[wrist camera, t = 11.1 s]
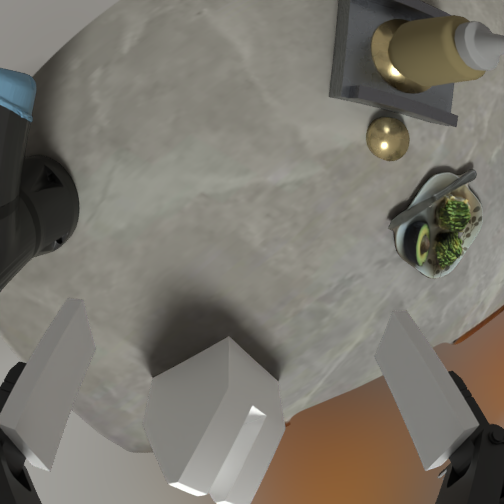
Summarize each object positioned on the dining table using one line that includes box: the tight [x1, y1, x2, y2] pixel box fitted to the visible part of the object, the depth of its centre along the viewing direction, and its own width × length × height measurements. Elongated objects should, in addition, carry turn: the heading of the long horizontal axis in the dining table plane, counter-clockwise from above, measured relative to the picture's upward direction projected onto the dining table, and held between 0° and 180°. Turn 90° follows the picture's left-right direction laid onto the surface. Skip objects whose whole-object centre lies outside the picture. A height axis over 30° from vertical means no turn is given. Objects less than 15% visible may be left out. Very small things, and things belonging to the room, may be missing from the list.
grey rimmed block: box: [329, 0, 458, 127], centre depth 31 cm, size 16×15×8 cm
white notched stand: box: [143, 336, 285, 504], centre depth 47 cm, size 19×15×25 cm
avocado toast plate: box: [388, 169, 483, 279], centre depth 43 cm, size 19×18×5 cm
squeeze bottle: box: [388, 15, 504, 86], centre depth 21 cm, size 8×8×18 cm
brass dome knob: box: [366, 117, 409, 161], centre depth 39 cm, size 6×6×2 cm
